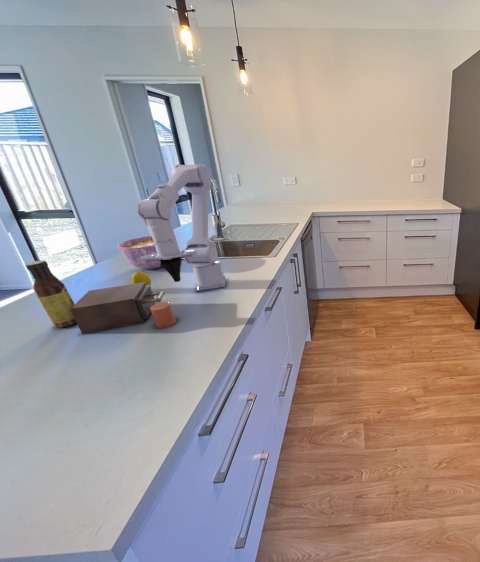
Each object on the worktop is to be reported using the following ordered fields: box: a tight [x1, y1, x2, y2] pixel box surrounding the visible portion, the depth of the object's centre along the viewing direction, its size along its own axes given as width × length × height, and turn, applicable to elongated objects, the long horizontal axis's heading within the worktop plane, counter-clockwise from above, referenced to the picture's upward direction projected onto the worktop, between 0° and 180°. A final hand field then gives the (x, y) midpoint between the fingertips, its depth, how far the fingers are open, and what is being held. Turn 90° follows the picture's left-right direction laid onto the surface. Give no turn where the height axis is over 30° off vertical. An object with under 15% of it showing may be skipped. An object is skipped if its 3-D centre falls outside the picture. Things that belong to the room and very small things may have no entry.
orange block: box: [150, 301, 177, 329], centre depth 89 cm, size 5×5×6 cm
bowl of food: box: [117, 235, 162, 270], centre depth 133 cm, size 20×20×12 cm
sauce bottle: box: [25, 259, 77, 329], centre depth 87 cm, size 6×6×20 cm
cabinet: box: [70, 282, 146, 335], centre depth 92 cm, size 15×13×8 cm
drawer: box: [136, 285, 166, 320], centre depth 93 cm, size 18×12×6 cm, turn 113°
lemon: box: [130, 270, 152, 286], centre depth 110 cm, size 6×6×8 cm
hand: (177, 280), depth 96 cm, fingers closed
